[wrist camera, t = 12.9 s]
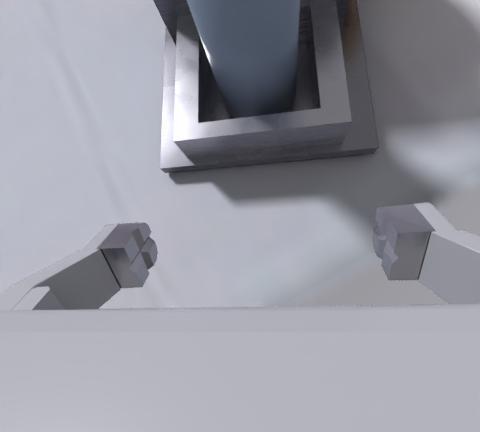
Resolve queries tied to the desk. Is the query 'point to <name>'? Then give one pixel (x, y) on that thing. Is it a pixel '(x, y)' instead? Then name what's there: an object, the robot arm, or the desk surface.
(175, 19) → the gray recessed holder
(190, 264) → the desk surface
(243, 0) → the bottle
